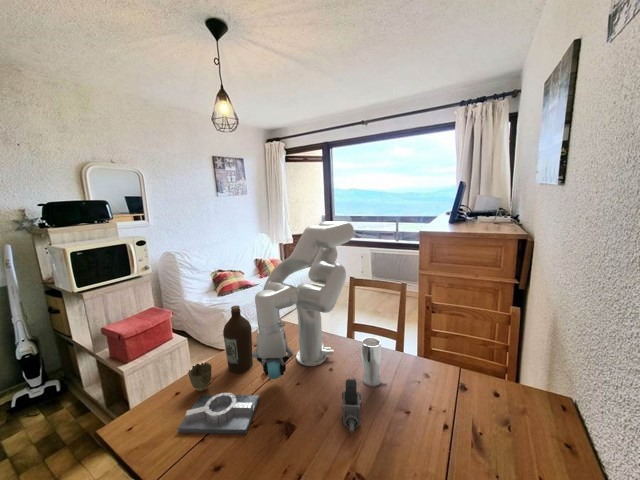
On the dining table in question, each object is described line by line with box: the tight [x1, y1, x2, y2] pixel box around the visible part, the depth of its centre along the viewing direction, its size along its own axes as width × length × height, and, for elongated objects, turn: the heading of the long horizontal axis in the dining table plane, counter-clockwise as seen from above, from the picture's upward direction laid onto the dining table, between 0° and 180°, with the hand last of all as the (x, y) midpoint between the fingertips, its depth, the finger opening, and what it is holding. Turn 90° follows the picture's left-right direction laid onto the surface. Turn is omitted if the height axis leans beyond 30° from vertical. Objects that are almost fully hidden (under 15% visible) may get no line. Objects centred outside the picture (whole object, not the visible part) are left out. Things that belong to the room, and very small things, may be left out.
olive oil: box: [222, 305, 254, 374], centre depth 103 cm, size 11×11×25 cm
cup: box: [187, 362, 212, 393], centre depth 92 cm, size 8×7×8 cm
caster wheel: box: [341, 378, 362, 434], centre depth 77 cm, size 6×10×15 cm
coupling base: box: [177, 392, 260, 435], centre depth 80 cm, size 20×13×4 cm, turn 86°
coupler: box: [265, 358, 282, 380], centre depth 92 cm, size 5×5×7 cm
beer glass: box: [360, 336, 382, 387], centre depth 92 cm, size 7×7×15 cm
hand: (275, 372), depth 93 cm, fingers closed on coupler, 5 cm apart
